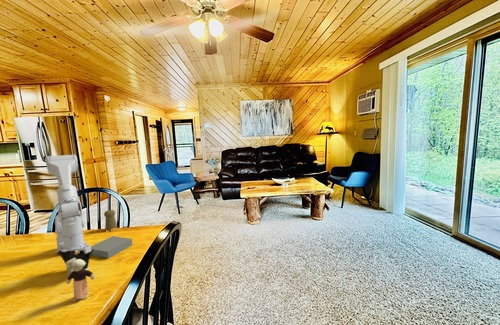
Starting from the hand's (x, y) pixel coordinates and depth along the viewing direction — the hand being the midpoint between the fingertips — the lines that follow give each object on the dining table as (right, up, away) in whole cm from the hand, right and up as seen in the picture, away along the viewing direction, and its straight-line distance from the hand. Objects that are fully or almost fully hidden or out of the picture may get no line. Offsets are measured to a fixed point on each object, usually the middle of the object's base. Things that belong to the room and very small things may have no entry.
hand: (77, 267), depth 80 cm
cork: (-13, +2, +39) cm, 41 cm away
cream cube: (0, -2, 0) cm, 2 cm away
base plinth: (+2, 0, +16) cm, 16 cm away
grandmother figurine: (+12, -3, -13) cm, 18 cm away
